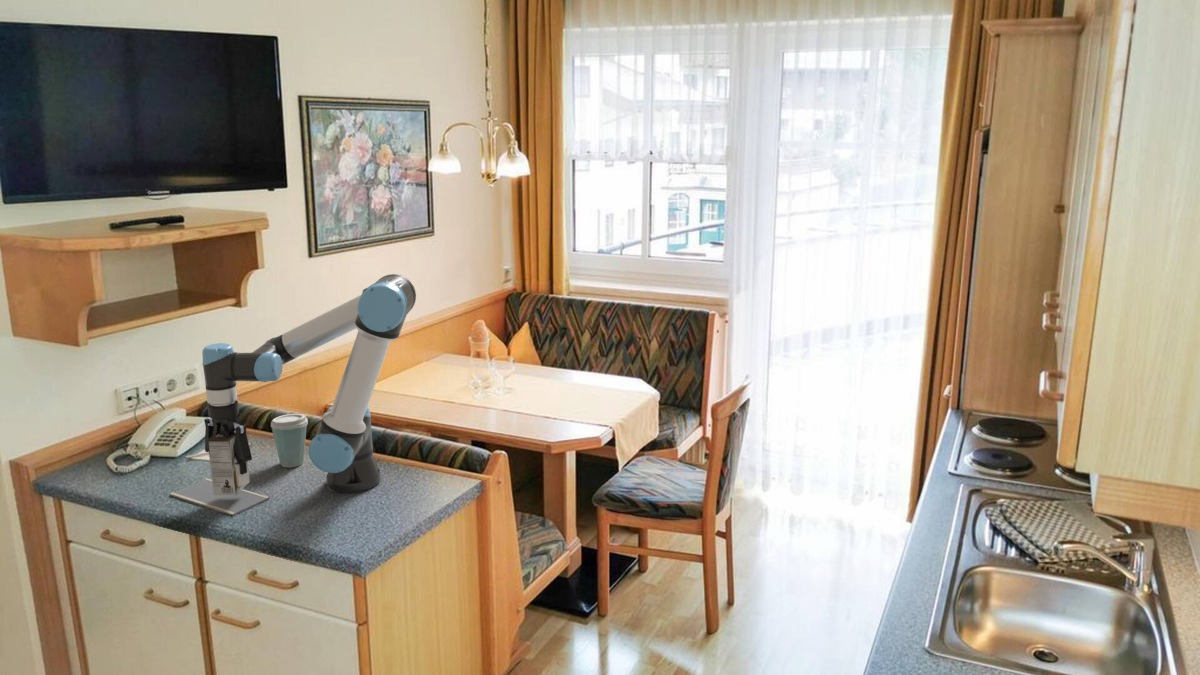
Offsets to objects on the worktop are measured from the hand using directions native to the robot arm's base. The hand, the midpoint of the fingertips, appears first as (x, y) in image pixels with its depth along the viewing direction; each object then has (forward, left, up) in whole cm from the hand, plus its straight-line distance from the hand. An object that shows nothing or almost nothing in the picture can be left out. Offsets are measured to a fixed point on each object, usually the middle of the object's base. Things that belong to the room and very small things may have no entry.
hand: (231, 480), depth 246 cm
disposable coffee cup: (+7, -27, -7) cm, 29 cm away
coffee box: (0, 0, -3) cm, 3 cm away
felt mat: (+6, 0, -6) cm, 9 cm away
